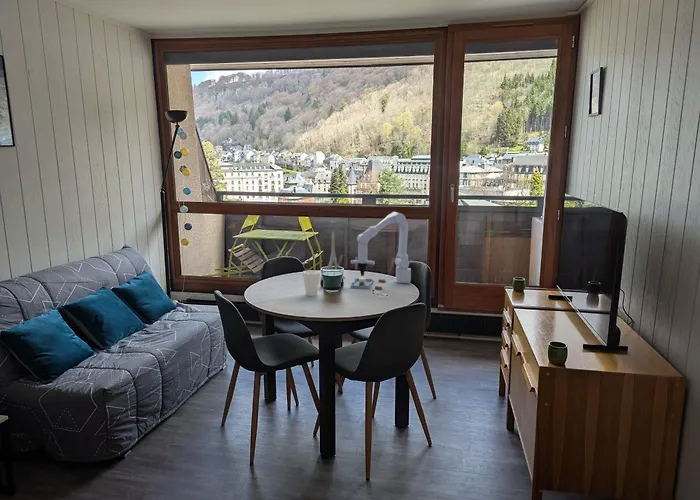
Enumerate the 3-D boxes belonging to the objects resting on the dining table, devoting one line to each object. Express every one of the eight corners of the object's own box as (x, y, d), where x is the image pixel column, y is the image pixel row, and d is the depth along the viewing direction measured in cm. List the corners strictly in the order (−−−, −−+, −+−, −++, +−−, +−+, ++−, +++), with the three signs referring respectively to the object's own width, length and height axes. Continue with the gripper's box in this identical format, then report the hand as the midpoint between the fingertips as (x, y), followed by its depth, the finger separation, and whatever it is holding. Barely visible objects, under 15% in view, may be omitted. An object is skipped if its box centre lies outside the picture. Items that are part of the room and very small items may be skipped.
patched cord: (367, 282, 312) (367, 276, 311) (364, 287, 300) (364, 280, 299) (360, 282, 312) (360, 276, 312) (357, 287, 301) (357, 280, 300)
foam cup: (317, 297, 278) (317, 274, 276) (301, 296, 280) (300, 273, 278) (321, 292, 287) (321, 270, 285) (306, 291, 289) (305, 269, 287)
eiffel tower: (321, 275, 332) (321, 230, 327) (341, 274, 334) (341, 230, 329) (324, 279, 319) (324, 233, 314) (345, 278, 321) (345, 232, 316)
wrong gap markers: (385, 281, 314) (385, 279, 313) (381, 289, 294) (381, 287, 294) (379, 281, 314) (379, 279, 314) (374, 289, 295) (374, 286, 295)
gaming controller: (344, 286, 302) (344, 270, 300) (343, 288, 296) (343, 272, 294) (321, 285, 303) (321, 269, 302) (319, 288, 297) (319, 271, 296)
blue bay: (373, 281, 315) (373, 277, 314) (369, 288, 296) (369, 285, 296) (356, 280, 317) (356, 277, 316) (350, 287, 298) (350, 284, 298)
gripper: (349, 254, 300) (349, 276, 303) (373, 255, 298) (373, 277, 300) (351, 252, 307) (351, 273, 310) (375, 253, 305) (374, 274, 307)
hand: (362, 275), depth 305 cm, fingers closed
